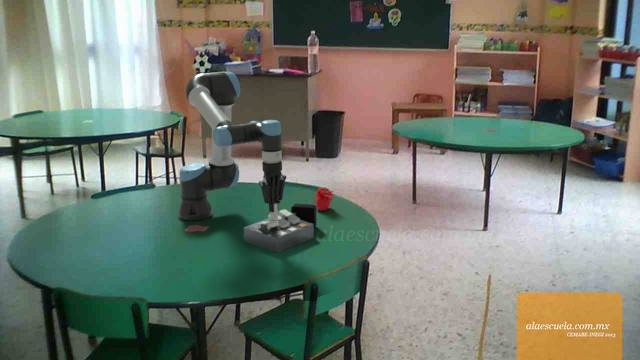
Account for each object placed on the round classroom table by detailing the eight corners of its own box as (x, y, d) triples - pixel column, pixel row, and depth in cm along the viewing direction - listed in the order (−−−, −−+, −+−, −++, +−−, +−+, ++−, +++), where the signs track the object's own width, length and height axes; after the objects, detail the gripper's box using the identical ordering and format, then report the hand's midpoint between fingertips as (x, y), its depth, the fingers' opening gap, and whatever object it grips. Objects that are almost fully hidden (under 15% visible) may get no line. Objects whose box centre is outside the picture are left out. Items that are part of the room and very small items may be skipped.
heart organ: (331, 204, 299) (331, 180, 295) (336, 212, 287) (336, 187, 284) (310, 205, 297) (310, 181, 294) (315, 213, 286) (314, 188, 282)
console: (244, 241, 254) (243, 220, 252) (280, 227, 269) (280, 207, 267) (277, 252, 242) (276, 231, 240) (313, 237, 257) (313, 216, 255)
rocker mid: (267, 218, 255) (268, 214, 254) (273, 216, 258) (274, 212, 257) (283, 228, 250) (283, 224, 250) (289, 226, 253) (289, 222, 252)
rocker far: (278, 214, 259) (278, 210, 259) (284, 212, 262) (284, 208, 261) (293, 224, 255) (294, 220, 254) (299, 222, 257) (300, 218, 256)
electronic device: (314, 230, 266) (314, 207, 263) (291, 228, 268) (291, 206, 265) (316, 226, 270) (316, 204, 267) (293, 225, 272) (293, 203, 269)
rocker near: (258, 227, 251) (257, 223, 251) (264, 225, 254) (263, 221, 253) (273, 227, 245) (272, 223, 245) (279, 224, 247) (278, 220, 247)
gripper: (266, 165, 233) (268, 225, 239) (291, 159, 242) (292, 216, 248) (252, 162, 237) (255, 221, 244) (277, 156, 247) (279, 212, 253)
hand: (274, 219), depth 246 cm, fingers closed
